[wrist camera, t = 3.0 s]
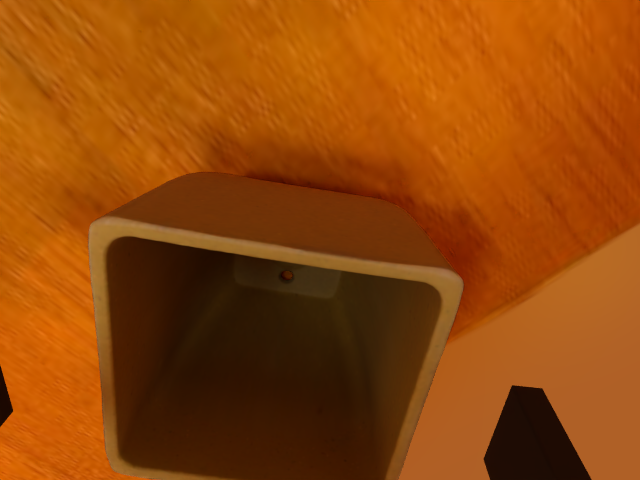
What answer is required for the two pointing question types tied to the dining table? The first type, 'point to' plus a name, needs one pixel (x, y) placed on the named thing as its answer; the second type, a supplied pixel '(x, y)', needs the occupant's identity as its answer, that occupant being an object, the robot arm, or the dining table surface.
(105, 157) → the dining table surface
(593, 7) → the dining table surface
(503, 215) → the dining table surface
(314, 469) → the flower pot
